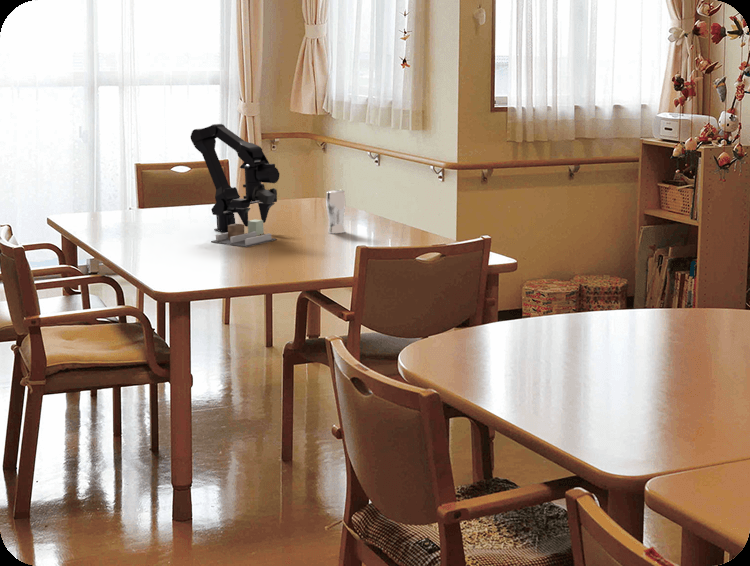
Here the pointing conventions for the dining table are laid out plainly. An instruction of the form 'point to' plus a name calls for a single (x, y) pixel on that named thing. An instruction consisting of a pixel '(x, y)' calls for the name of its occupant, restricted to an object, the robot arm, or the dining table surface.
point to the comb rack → (243, 239)
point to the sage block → (256, 226)
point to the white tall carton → (335, 210)
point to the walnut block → (235, 230)
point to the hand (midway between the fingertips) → (255, 224)
